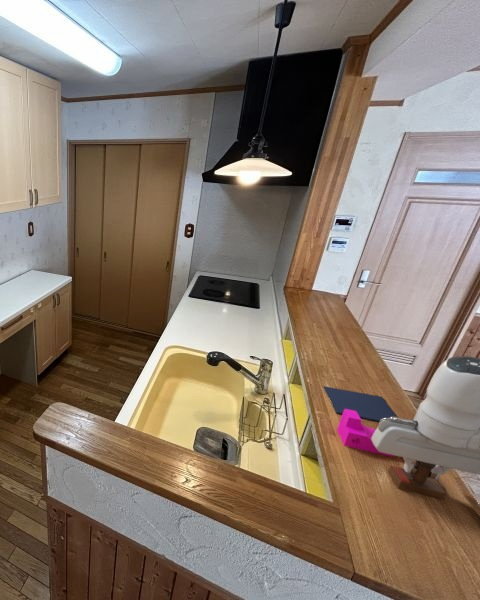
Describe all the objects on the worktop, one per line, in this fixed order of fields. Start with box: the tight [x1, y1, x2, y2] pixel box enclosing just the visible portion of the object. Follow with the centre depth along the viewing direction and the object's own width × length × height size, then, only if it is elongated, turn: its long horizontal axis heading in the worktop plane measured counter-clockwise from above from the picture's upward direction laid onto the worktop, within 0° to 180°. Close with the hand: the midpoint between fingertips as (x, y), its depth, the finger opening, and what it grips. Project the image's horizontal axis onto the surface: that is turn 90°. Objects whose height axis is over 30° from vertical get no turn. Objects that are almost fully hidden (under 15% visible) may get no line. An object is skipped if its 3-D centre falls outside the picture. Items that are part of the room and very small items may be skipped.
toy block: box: [336, 409, 394, 458], centre depth 86 cm, size 15×6×8 cm, turn 68°
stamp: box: [387, 460, 447, 501], centre depth 74 cm, size 8×5×9 cm, turn 68°
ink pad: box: [323, 385, 398, 423], centre depth 102 cm, size 16×14×1 cm
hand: (419, 473), depth 75 cm, fingers closed on stamp, 2 cm apart
